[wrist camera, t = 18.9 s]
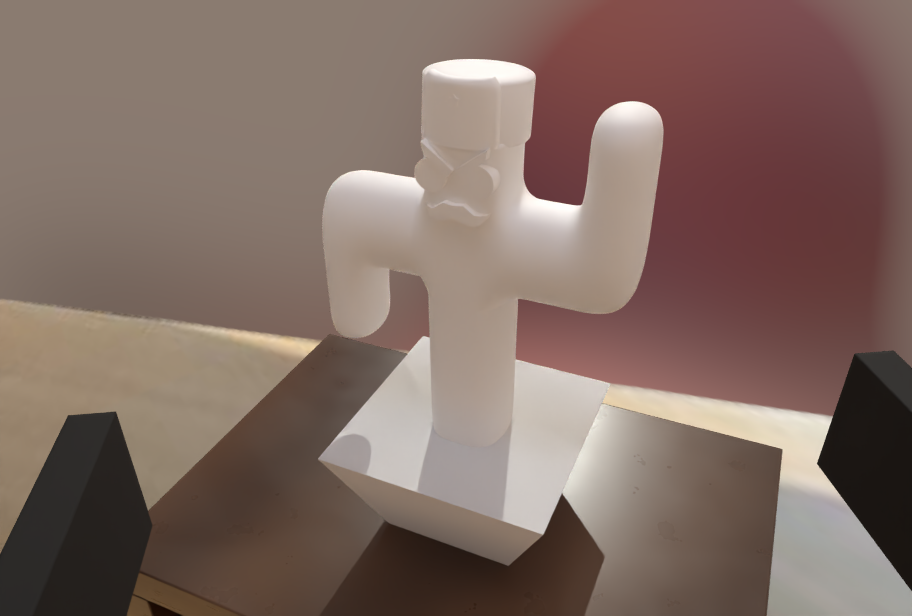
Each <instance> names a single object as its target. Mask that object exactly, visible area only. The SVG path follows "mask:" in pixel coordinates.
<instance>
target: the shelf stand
mask: <svg viewBox="0 0 912 616" xmlns="http://www.w3.org/2000/svg"><path fill="white" fill-rule="evenodd" d="M406 355H407V353H403V352H399V351H395V350H391V349H387V348H383V347H379V346H375V345H371V344H367V343H363V342H359V341H356V340H352V339H348V338H344V337H340V336H336V335H332V334H329V335H328V336H327V337H326V338H325V339H324V340H323V341H322V342H321V343H320V344H319V345H318V346H317V347H316V348H315V349H314V350H312V351H311V352H310V353H309V354H308V355H307V356H306V357H305V358H304V359H303V360H302V361H301V362H300V363H299V364H298V365H297V366H296V367H295V368H294V369H293V370H292V371H291V372H290V373H289V374H288V375H287V376H286V377H285V378H284V379H283V380H282V381H281V382H280V383H279V384H278V385H277V386H276V387H275V388H274V389H273V390H272V391H270V392H269V393H268V394H267V395H266V396H265V397H264V398H263V399H262V400H261V401H260V402H259V403H258V404H257V405H256V406H255V407H254V408H253V409H252V410H251V411H250V412H249V413H248V414H247V415H246V416H245V417H244V418H243V419H242V420H241V421H240V422H239V423H238V424H237V425H236V426H235V427H234V428H233V429H232V430H231V431H230V432H229V433H227V434H226V435H225V436H224V437H223V438H222V439H221V440H220V441H219V442H218V443H217V444H216V445H215V446H214V447H213V448H212V449H211V450H210V451H209V452H208V453H207V454H206V455H205V456H204V457H203V458H202V459H201V460H200V461H199V462H198V463H197V464H196V465H195V466H194V467H193V468H192V469H191V470H190V471H189V472H188V473H187V474H185V475H184V476H183V477H182V478H181V479H180V480H179V481H178V482H177V483H176V484H175V485H174V486H173V487H172V488H171V489H170V490H169V491H168V492H167V493H166V494H165V495H164V496H163V497H162V498H161V499H160V500H159V501H158V502H157V503H156V504H155V505H154V506H153V507H152V508H151V509H150V510H149V511H148V513H149V516H150V519H151V522H152V525H153V526H152V529H151V533H150V536H149V540H148V543H147V547H146V550H145V554H144V557H143V561H142V564H141V567H140V571H139V574H138V578H137V581H136V585H135V588H134V592H133V595H132V599H131V602H130V606H129V609H128V612H127V616H767V606H768V596H769V586H770V575H771V565H772V554H773V544H774V533H775V523H776V512H777V502H778V492H779V481H780V471H781V460H782V449H780V448H776V447H772V446H768V445H764V444H760V443H756V442H752V441H748V440H744V439H740V438H737V437H733V436H729V435H725V434H721V433H717V432H713V431H709V430H705V429H701V428H697V427H693V426H689V425H685V424H682V423H678V422H674V421H670V420H666V419H662V418H658V417H654V416H650V415H646V414H642V413H638V412H634V411H630V410H627V409H623V408H619V407H615V406H611V405H607V404H603V403H602V404H601V406H600V409H599V411H598V413H597V415H596V418H595V420H594V422H593V424H592V427H591V429H590V431H589V433H588V435H587V438H586V440H585V442H584V444H583V447H582V449H581V451H580V453H579V456H578V458H577V460H576V462H575V465H574V467H573V469H572V471H571V474H570V476H569V478H568V480H567V483H566V485H565V487H564V489H563V492H562V494H561V496H560V498H559V501H558V503H557V505H556V507H555V510H554V512H553V514H552V516H551V519H550V521H549V523H548V525H547V528H546V530H545V532H544V534H543V535H542V536H541V537H540V538H539V539H538V540H537V541H536V542H535V543H533V544H532V545H531V546H530V547H529V548H528V549H527V550H526V551H525V552H523V553H522V554H521V555H520V556H519V557H518V558H517V559H516V560H514V561H513V562H512V563H511V564H510V565H509V566H507V565H505V564H502V563H499V562H496V561H493V560H491V559H488V558H485V557H482V556H479V555H477V554H474V553H471V552H468V551H465V550H463V549H460V548H457V547H454V546H451V545H449V544H446V543H443V542H440V541H437V540H435V539H432V538H429V537H426V536H423V535H421V534H418V533H415V532H412V531H409V530H407V529H404V528H401V527H398V526H395V525H393V524H390V523H388V522H387V521H386V520H385V519H384V518H383V517H382V516H380V515H379V514H378V513H377V512H376V511H375V510H374V509H373V508H372V507H370V506H369V505H368V504H367V503H366V502H365V501H364V500H363V499H362V498H360V497H359V496H358V495H357V494H356V493H355V492H354V491H353V490H352V489H350V488H349V487H348V486H347V485H346V484H345V483H344V482H343V481H342V480H340V479H339V478H338V477H337V476H336V475H335V474H334V473H333V472H332V471H330V470H329V469H328V468H327V467H326V466H325V465H324V464H323V463H322V462H320V461H319V460H318V458H319V457H320V456H321V454H322V453H323V452H324V451H325V450H326V449H327V447H328V446H329V445H330V444H331V443H332V442H333V440H334V439H335V438H336V437H337V436H338V435H339V433H340V432H341V431H342V430H343V429H344V428H345V426H346V425H347V424H348V423H349V422H350V421H351V419H352V418H353V417H354V416H355V415H356V414H357V412H358V411H359V410H360V409H361V408H362V407H363V405H364V404H365V403H366V402H367V401H368V400H369V398H370V397H371V396H372V395H373V394H374V393H375V392H376V390H377V389H378V388H379V387H380V386H381V385H382V383H383V382H384V381H385V380H386V379H387V378H388V376H389V375H390V374H391V373H392V372H393V371H394V369H395V368H396V367H397V366H398V365H399V364H400V362H401V361H402V360H403V359H404V358H405V357H406Z"/></svg>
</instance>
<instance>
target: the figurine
mask: <svg viewBox="0 0 912 616" xmlns="http://www.w3.org/2000/svg"><path fill="white" fill-rule="evenodd" d="M535 78H536V77H535V74H534V73H533V72H532V71H531V70H530V69H528V68H526V67H523V66H521V65H517V64H513V63H509V62H503V61H495V60H482V59H460V60H449V61H443V62H438V63H435V64H432V65H430V66H428V67H426V68H425V69H424V70H423V74H422V120H421V121H422V122H421V126H422V127H421V132H422V140H421V149H422V152H423V154H424V158H423V159H422V160H420V161H419V162H418V163H417V164H416V166H415V170H414V174H415V178H410V177H405V176H399V175H393V174H387V173H381V172H376V171H368V170H359V171H352V172H348V173H346V174H344V175H342V176H340V177H339V178H338V179H337V180H336V181H335V182H334V183H333V184H332V186H331V187H330V189H329V190H328V193H327V195H326V198H325V203H324V208H323V218H322V233H323V247H324V256H325V264H326V273H327V282H328V291H329V300H330V308H331V316H332V321H333V324H334V327H335V329H336V330H337V331H338V332H339V333H340V334H341V335H343V336H345V337H348V338H362V337H365V336H368V335H370V334H372V333H373V332H375V331H376V330H377V329H378V328H380V327H381V325H382V324H383V323H384V322H385V320H386V318H387V316H388V313H389V308H390V290H389V269H391V270H395V271H400V272H404V273H409V274H413V275H418V276H421V278H422V280H423V282H424V284H425V286H426V288H427V290H428V296H429V297H428V298H429V329H430V330H429V331H430V338H428V337H425V336H423V337H422V338H421V339H420V340H419V342H418V343H417V344H416V345H415V346H414V347H413V349H412V350H411V351H410V352H409V353H408V354H407V355H406V357H405V358H404V359H403V360H402V361H401V362H400V364H399V365H398V366H397V367H396V368H395V369H394V371H393V372H392V373H391V374H390V375H389V376H388V378H387V379H386V380H385V381H384V382H383V383H382V385H381V386H380V387H379V388H378V389H377V390H376V392H375V393H374V394H373V395H372V396H371V397H370V398H369V400H368V401H367V402H366V403H365V404H364V405H363V407H362V408H361V409H360V410H359V411H358V412H357V414H356V415H355V416H354V417H353V418H352V419H351V421H350V422H349V423H348V424H347V425H346V426H345V428H344V429H343V430H342V431H341V432H340V433H339V435H338V436H337V437H336V438H335V439H334V440H333V442H332V443H331V444H330V445H329V446H328V447H327V449H326V450H325V451H324V452H323V453H322V454H321V456H320V457H319V458H318V460H319V461H320V462H322V463H323V464H324V465H325V466H326V467H327V468H328V469H329V470H330V471H332V472H333V473H334V474H335V475H336V476H337V477H338V478H339V479H340V480H342V481H343V482H344V483H345V484H346V485H347V486H348V487H349V488H350V489H352V490H353V491H354V492H355V493H356V494H357V495H358V496H359V497H360V498H362V499H363V500H364V501H365V502H366V503H367V504H368V505H369V506H370V507H372V508H373V509H374V510H375V511H376V512H377V513H378V514H379V515H380V516H382V517H383V518H384V519H385V520H386V521H387V522H388V523H390V524H393V525H395V526H398V527H401V528H404V529H407V530H409V531H412V532H415V533H418V534H421V535H423V536H426V537H429V538H432V539H435V540H437V541H440V542H443V543H446V544H449V545H451V546H454V547H457V548H460V549H463V550H465V551H468V552H471V553H474V554H477V555H479V556H482V557H485V558H488V559H491V560H493V561H496V562H499V563H502V564H505V565H507V566H509V565H510V564H511V563H512V562H513V561H514V560H516V559H517V558H518V557H519V556H520V555H521V554H522V553H523V552H525V551H526V550H527V549H528V548H529V547H530V546H531V545H532V544H533V543H535V542H536V541H537V540H538V539H539V538H540V537H541V536H542V535H543V534H544V532H545V530H546V528H547V525H548V523H549V521H550V519H551V516H552V514H553V512H554V510H555V507H556V505H557V503H558V501H559V498H560V496H561V494H562V492H563V489H564V487H565V485H566V483H567V480H568V478H569V476H570V474H571V471H572V469H573V467H574V465H575V462H576V460H577V458H578V456H579V453H580V451H581V449H582V447H583V444H584V442H585V440H586V438H587V435H588V433H589V431H590V429H591V427H592V424H593V422H594V420H595V418H596V415H597V413H598V411H599V409H600V406H601V404H602V402H603V400H604V397H605V395H606V393H607V391H608V388H609V386H610V383H606V382H603V381H599V380H594V379H591V378H587V377H583V376H579V375H575V374H571V373H567V372H563V371H559V370H555V369H551V368H547V367H543V366H539V365H535V364H531V363H527V362H523V361H520V360H516V359H515V357H516V333H517V310H518V299H526V300H530V301H535V302H540V303H544V304H549V305H553V306H558V307H562V308H567V309H571V310H576V311H580V312H586V313H593V314H605V313H611V312H614V311H617V310H618V309H620V308H621V307H623V306H624V305H625V304H627V302H628V301H629V300H630V298H631V297H632V295H633V294H634V292H635V290H636V288H637V285H638V283H639V280H640V277H641V274H642V270H643V267H644V263H645V258H646V253H647V247H648V242H649V236H650V229H651V222H652V215H653V209H654V208H653V207H654V201H655V195H656V187H657V181H658V174H659V167H660V160H661V153H662V146H663V123H662V120H661V117H660V115H659V113H658V112H657V111H656V110H655V109H654V108H653V107H651V106H649V105H647V104H644V103H641V102H632V101H631V102H623V103H619V104H616V105H614V106H612V107H610V108H608V109H607V110H606V111H605V112H604V113H603V114H602V115H601V116H600V118H599V119H598V122H597V123H596V126H595V129H594V132H593V136H592V141H591V148H590V159H589V170H588V178H587V185H586V191H585V196H584V201H583V204H582V205H580V206H574V205H569V204H563V203H556V202H551V201H545V200H540V199H537V198H535V197H534V196H532V195H531V194H530V193H529V192H528V190H527V188H526V186H525V182H524V178H523V169H524V149H525V142H526V141H527V140H528V139H529V138H530V135H531V124H532V112H533V101H534V90H535Z"/></svg>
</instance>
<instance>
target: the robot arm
mask: <svg viewBox="0 0 912 616" xmlns="http://www.w3.org/2000/svg"><path fill="white" fill-rule="evenodd" d="M817 464H818V466H819V467H820V468H821V470H822V471H823V472H824V474H825V475H826V476H827V478H828V479H829V480H830V482H831V483H832V485H833V486H834V487H835V489H836V490H837V491H838V493H839V494H840V495H841V497H842V498H843V499H844V501H845V502H846V503H847V505H848V506H849V507H850V509H851V510H852V511H853V513H854V514H855V515H856V517H857V518H858V519H859V521H860V522H861V524H862V525H863V526H864V528H865V529H866V530H867V532H868V533H869V534H870V536H871V537H872V538H873V540H874V541H875V542H876V544H877V545H878V546H879V548H880V549H881V550H882V552H883V553H884V554H885V556H886V557H887V559H888V560H889V561H890V563H891V564H892V565H893V567H894V568H895V569H896V571H897V572H898V573H899V575H900V576H901V577H902V579H903V580H904V581H905V583H906V584H907V585H908V587H909V588H910V589H911V591H912V368H911V367H910V366H909V365H908V364H907V363H906V362H905V361H904V360H903V359H902V358H901V357H900V356H899V355H897V353H895V352H894V351H882V352H870V353H857V354H854V357H853V360H852V363H851V366H850V368H849V371H848V374H847V377H846V380H845V384H844V386H843V389H842V392H841V395H840V398H839V401H838V404H837V407H836V410H835V412H834V415H833V418H832V421H831V424H830V427H829V430H828V433H827V436H826V439H825V442H824V445H823V448H822V451H821V454H820V456H819V459H818V462H817ZM152 526H153V525H152V522H151V519H150V516H149V513H148V510H147V507H146V503H145V500H144V497H143V494H142V491H141V488H140V485H139V482H138V479H137V476H136V472H135V469H134V466H133V463H132V460H131V457H130V454H129V451H128V448H127V445H126V441H125V438H124V435H123V432H122V429H121V426H120V423H119V420H118V417H117V414H116V412H106V413H93V414H81V415H68V417H67V419H66V421H65V423H64V425H63V427H62V429H61V431H60V433H59V435H58V437H57V439H56V441H55V443H54V446H53V448H52V450H51V452H50V454H49V456H48V458H47V460H46V462H45V464H44V466H43V468H42V470H41V472H40V474H39V476H38V478H37V480H36V482H35V484H34V486H33V488H32V490H31V492H30V494H29V497H28V499H27V501H26V503H25V505H24V507H23V509H22V511H21V513H20V515H19V517H18V519H17V521H16V523H15V525H14V527H13V529H12V531H11V533H10V535H9V537H8V539H7V541H6V543H5V546H4V548H3V550H2V552H1V554H0V616H127V612H128V609H129V606H130V602H131V599H132V595H133V592H134V588H135V585H136V581H137V578H138V574H139V571H140V567H141V564H142V561H143V557H144V554H145V550H146V547H147V543H148V540H149V536H150V533H151V529H152Z"/></svg>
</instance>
